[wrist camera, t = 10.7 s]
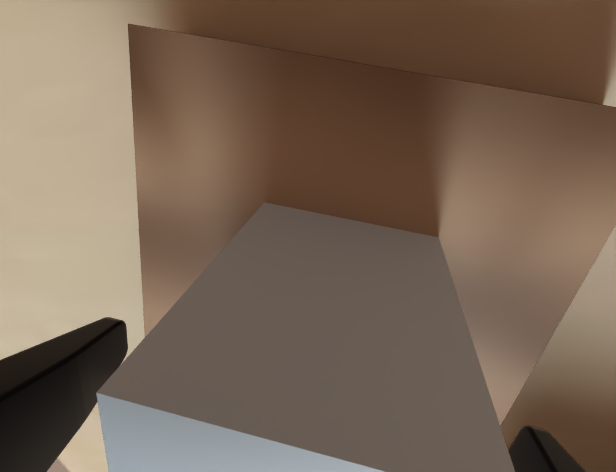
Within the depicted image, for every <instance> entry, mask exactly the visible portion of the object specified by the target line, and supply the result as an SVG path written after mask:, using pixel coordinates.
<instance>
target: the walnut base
mask: <svg viewBox="0 0 616 472" xmlns="http://www.w3.org/2000/svg"><path fill="white" fill-rule="evenodd" d="M128 34H129V52H130V71H131V89H132V108H133V126H134V145H135V163H136V181H137V200H138V218H139V237H140V255H141V274H142V292H143V311H144V329H145V337H146V336H147V335H148V334H149V332H150V331H151V330H152V329H153V328H154V327H155V326H156V325H157V323H158V322H159V321H160V320H161V319H162V318H163V317H164V315H165V314H166V313H167V312H168V311H169V310H170V309H171V308H172V306H173V305H174V304H175V303H176V302H177V301H178V300H179V298H180V297H181V296H182V295H183V294H184V293H185V292H186V291H187V289H188V288H189V287H190V286H191V285H192V284H193V283H194V281H195V280H196V279H197V278H198V277H199V276H200V275H201V274H202V272H203V271H204V270H205V269H206V268H207V267H208V266H209V264H210V263H211V262H212V261H213V260H214V259H215V258H216V257H217V255H218V254H219V253H220V252H221V251H222V250H223V249H224V248H225V246H226V245H227V244H228V243H229V242H230V241H231V240H232V238H233V237H234V236H235V235H236V234H237V233H238V232H239V231H240V229H241V228H242V227H243V226H244V225H245V224H246V223H247V221H248V220H249V219H250V218H251V217H252V216H253V215H254V214H255V212H256V211H257V210H258V209H259V208H260V207H261V206H262V204H263V203H264V202H266V203H271V204H276V205H281V206H286V207H290V208H295V209H300V210H305V211H310V212H315V213H320V214H325V215H330V216H335V217H340V218H345V219H350V220H355V221H360V222H365V223H370V224H375V225H380V226H385V227H390V228H395V229H399V230H404V231H409V232H414V233H419V234H424V235H429V236H434V237H439V240H440V243H441V246H442V249H443V252H444V255H445V258H446V261H447V264H448V267H449V270H450V273H451V277H452V280H453V283H454V286H455V289H456V292H457V295H458V298H459V301H460V304H461V307H462V310H463V313H464V316H465V319H466V323H467V326H468V329H469V332H470V335H471V338H472V341H473V344H474V347H475V350H476V353H477V356H478V359H479V362H480V365H481V369H482V372H483V375H484V378H485V381H486V384H487V387H488V390H489V393H490V396H491V399H492V402H493V405H494V408H495V411H496V415H497V418H498V421H499V424H500V426H501V424H502V422H503V420H504V419H505V417H506V415H507V413H508V412H509V410H510V408H511V406H512V405H513V403H514V401H515V399H516V398H517V396H518V394H519V392H520V391H521V389H522V387H523V385H524V384H525V382H526V380H527V379H528V377H529V375H530V373H531V372H532V370H533V368H534V366H535V365H536V363H537V361H538V359H539V358H540V356H541V354H542V352H543V351H544V349H545V347H546V345H547V344H548V342H549V340H550V338H551V337H552V335H553V333H554V331H555V330H556V328H557V326H558V324H559V323H560V321H561V319H562V318H563V316H564V314H565V312H566V311H567V309H568V307H569V305H570V304H571V302H572V300H573V298H574V297H575V295H576V293H577V291H578V290H579V288H580V286H581V284H582V283H583V281H584V279H585V277H586V276H587V274H588V272H589V270H590V269H591V267H592V265H593V264H594V262H595V260H596V258H597V257H598V255H599V253H600V251H601V250H602V248H603V246H604V244H605V243H606V241H607V239H608V237H609V236H610V234H611V232H612V230H613V229H614V227H615V225H616V107H612V106H606V105H600V104H594V103H588V102H582V101H577V100H571V99H565V98H559V97H553V96H547V95H542V94H536V93H530V92H524V91H518V90H512V89H507V88H501V87H495V86H489V85H483V84H477V83H471V82H466V81H460V80H454V79H448V78H442V77H436V76H431V75H425V74H419V73H413V72H407V71H401V70H396V69H390V68H384V67H378V66H372V65H366V64H360V63H355V62H349V61H343V60H337V59H331V58H325V57H320V56H314V55H308V54H302V53H296V52H290V51H284V50H279V49H273V48H267V47H261V46H255V45H249V44H244V43H238V42H232V41H226V40H220V39H214V38H209V37H203V36H197V35H191V34H185V33H179V32H173V31H168V30H162V29H156V28H150V27H144V26H138V25H133V24H128Z"/></svg>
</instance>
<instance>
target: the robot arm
mask: <svg viewBox="0 0 616 472" xmlns="http://www.w3.org/2000/svg"><path fill="white" fill-rule="evenodd" d="M127 350H128V343H127V331H126V324H125V322H124V321H122V320H118V319H115V318H111V317H106V318H103V319H100V320H98V321H95V322H93V323H90V324H88V325H86V326H83V327H81V328H78V329H76V330H73V331H71V332H68V333H66V334H63V335H61V336H58V337H56V338H53V339H51V340H49V341H46V342H44V343H41V344H39V345H36V346H34V347H31V348H29V349H26V350H24V351H21V352H19V353H16V354H14V355H12V356H9V357H7V358H4V359H2V360H0V472H47V470H48V469H49V468H50V467H51V465H52V464H53V463H54V461H55V460H56V459H57V457H58V456H59V455H60V453H61V452H62V451H63V449H64V448H65V447H66V446H67V444H68V443H69V442H70V440H71V439H72V438H73V436H74V435H75V434H76V432H77V431H78V430H79V428H80V427H81V426H82V424H83V423H84V421H85V420H86V419H87V417H88V416H89V414H90V413H91V411H92V410H93V408H94V407H95V405H96V403H97V402H98V401H97V394H96V392H97V391H98V390H99V389H100V388H101V387H102V386H103V385H104V383H105V382H106V381H107V380H108V379H109V378H110V377H111V375H112V374H113V373H114V372H115V371H116V370H117V369H118V368H119V366H120V365H121V363H122V361H123V360H124V358H125V356H126V354H127ZM508 451H509V454H510V457H511V461H512V464H513V467H514V470H515V472H586V471H585V470H584V469H583V468H582V467H581V466H580V465H579V464H578V463H577V462H576V461H575V460H574V458H573V457H572V456H571V455H570V454H569V453H568V452H567V451H566V450H565V449H564V448H563V447H562V446H561V445H560V444H559V442H558V441H557V440H556V439H555V438H554V437H553V436H552V435H551V434H550V433H549V432H548V431H546V430H544V429H540V428H536V427H532V426H529V425H526V426H524V427H522V428H521V430H520V432H519V433H518V435H517V436H516V438H515V440H514V441H513V443H512V445H511V446H510V448H509V450H508Z"/></svg>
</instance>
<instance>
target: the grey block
mask: <svg viewBox="0 0 616 472" xmlns="http://www.w3.org/2000/svg"><path fill="white" fill-rule="evenodd" d="M96 394H97V401H98V407H99V413H100V420H101V426H102V432H103V439H104V445H105V451H106V458H107V464H108V470H109V472H515V470H514V467H513V464H512V461H511V457H510V454H509V451H508V448H507V445H506V442H505V439H504V436H503V433H502V430H501V427H500V424H499V421H498V418H497V415H496V411H495V408H494V405H493V402H492V399H491V396H490V393H489V390H488V387H487V384H486V381H485V378H484V375H483V372H482V369H481V365H480V362H479V359H478V356H477V353H476V350H475V347H474V344H473V341H472V338H471V335H470V332H469V329H468V326H467V323H466V319H465V316H464V313H463V310H462V307H461V304H460V301H459V298H458V295H457V292H456V289H455V286H454V283H453V280H452V277H451V273H450V270H449V267H448V264H447V261H446V258H445V255H444V252H443V249H442V246H441V243H440V240H439V237H434V236H429V235H424V234H419V233H414V232H409V231H404V230H399V229H395V228H390V227H385V226H380V225H375V224H370V223H365V222H360V221H355V220H350V219H345V218H340V217H335V216H330V215H325V214H320V213H315V212H310V211H305V210H300V209H295V208H290V207H286V206H281V205H276V204H271V203H266V202H264V203H263V204H262V206H261V207H260V208H259V209H258V210H257V211H256V212H255V214H254V215H253V216H252V217H251V218H250V219H249V220H248V221H247V223H246V224H245V225H244V226H243V227H242V228H241V229H240V231H239V232H238V233H237V234H236V235H235V236H234V237H233V238H232V240H231V241H230V242H229V243H228V244H227V245H226V246H225V248H224V249H223V250H222V251H221V252H220V253H219V254H218V255H217V257H216V258H215V259H214V260H213V261H212V262H211V263H210V264H209V266H208V267H207V268H206V269H205V270H204V271H203V272H202V274H201V275H200V276H199V277H198V278H197V279H196V280H195V281H194V283H193V284H192V285H191V286H190V287H189V288H188V289H187V291H186V292H185V293H184V294H183V295H182V296H181V297H180V298H179V300H178V301H177V302H176V303H175V304H174V305H173V306H172V308H171V309H170V310H169V311H168V312H167V313H166V314H165V315H164V317H163V318H162V319H161V320H160V321H159V322H158V323H157V325H156V326H155V327H154V328H153V329H152V330H151V331H150V332H149V334H148V335H147V336H146V337H145V338H144V339H143V340H142V342H141V343H140V344H139V345H138V346H137V347H136V348H135V349H134V351H133V352H132V353H131V354H130V355H129V356H128V357H127V358H126V360H125V361H124V362H123V363H122V364H121V365H120V366H119V368H118V369H117V370H116V371H115V372H114V373H113V374H112V375H111V377H110V378H109V379H108V380H107V381H106V382H105V383H104V385H103V386H102V387H101V388H100V389H99V390H98V391H97V392H96Z"/></svg>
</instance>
